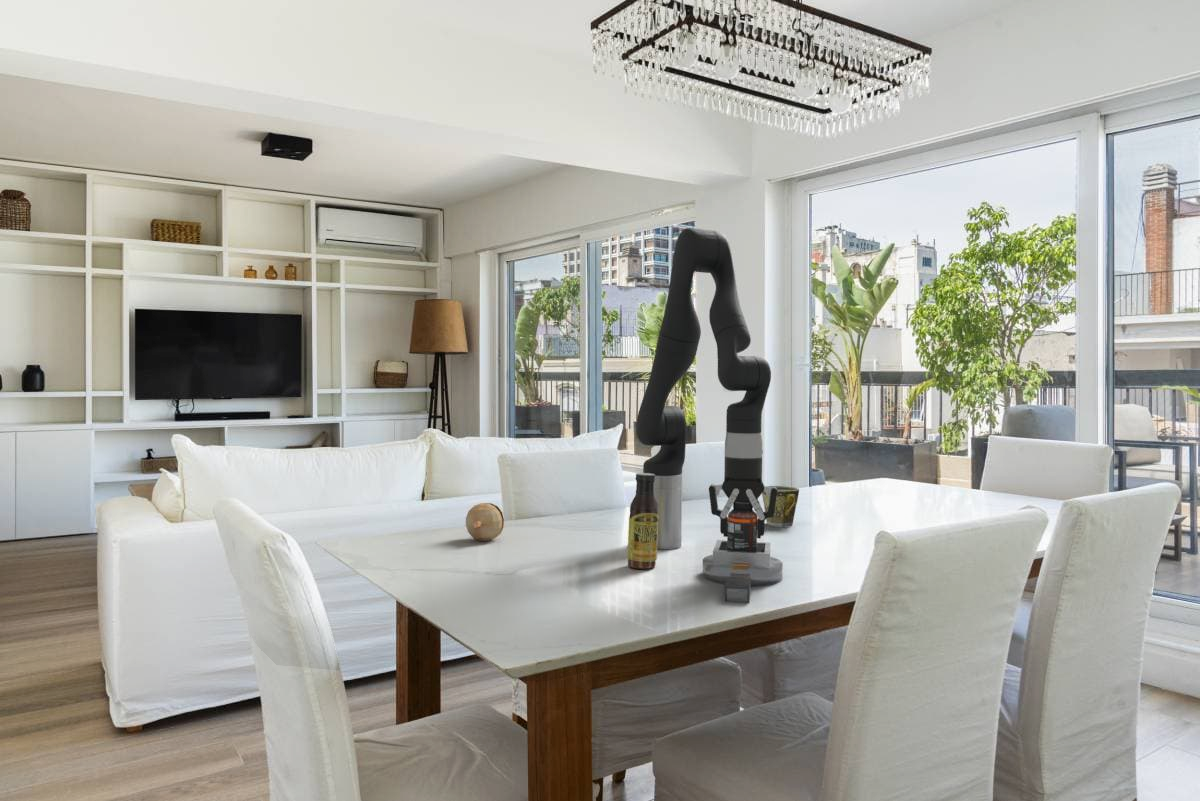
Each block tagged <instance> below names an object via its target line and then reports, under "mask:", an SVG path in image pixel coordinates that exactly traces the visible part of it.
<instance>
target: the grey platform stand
mask: <svg viewBox="0 0 1200 801" xmlns="http://www.w3.org/2000/svg"><path fill="white" fill-rule="evenodd" d="M756 550H757V551H756V552H742V551H727V540H726V539H725V540H723V539H722V540H721V539H717V540H716V542H715V545H714V547H713V550H712V554H710V555H707V556H705V557H703V558H702V577H703V578H704V579H706V580H708V581H710V582H712V583H713V582H714V583H718V584H722V585H724V602H729V603H745V604H746V603H747V604H750V602H751V600H750V599H751V595H752V594H751V593H752V587H764V586H771V585H774V584H778V583H780V582H781V581H782V580H783V569H784V568H783V564H784V563H783V562H782V561H781V560H780V559H778V558H776V557H773V556H771V542H768V541H765V542H762V541H757V549H756Z"/></svg>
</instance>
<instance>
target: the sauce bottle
mask: <svg viewBox="0 0 1200 801" xmlns="http://www.w3.org/2000/svg"><path fill="white" fill-rule="evenodd" d="M635 480H636V481H635V482H636V486H635V487H636V489H635V496H634V497H633V499H632V501H631V503H630V507H629V517H628V533H627V535H628V536H627V566H628V567H629V568H631V569H638V570H649V569H650V570H651V569H654V568H655V567H656V564H657V563H656V561H657V560H658V549H657V537H658V504H657V502H656V500H655V497H654V481H655V474H650V473H643V472H638V473H636V474H635Z"/></svg>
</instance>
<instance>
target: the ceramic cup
mask: <svg viewBox="0 0 1200 801" xmlns="http://www.w3.org/2000/svg"><path fill="white" fill-rule="evenodd" d="M767 487H776V488H777V497H776V503H775V510H774V516H773V517H771V518H767V519H765V520H766V521H765V522H766V525H767V524H769V525H768V526H770V525H771V526H770V527H774V526H779V527H778V528H786V527H785V526H790V527H792V526H793V523H794V519H795V513H796V509H797V503H798V500H799V493H800V489H799V487H795V486H789V485H786V486H785V485H767ZM761 497H762V503H763V509H764V512H765V511H768V508H769V501H770V498H768V497H767V495H766V492H765V491H763V493H762V494H761ZM791 525H792V526H791Z"/></svg>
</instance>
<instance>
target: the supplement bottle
mask: <svg viewBox="0 0 1200 801" xmlns="http://www.w3.org/2000/svg"><path fill="white" fill-rule="evenodd" d="M732 508H733V509H731V510H729V512H728V514H727V517H728V534H727V537H726V538H727V551H742V552H756V551H757V550H756V549H757V542H758V538H757V520H758V516H757V514H756V511H755V510H754V508H753V506H752V504H751V503H750V502H734V504H733V505H732Z"/></svg>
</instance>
